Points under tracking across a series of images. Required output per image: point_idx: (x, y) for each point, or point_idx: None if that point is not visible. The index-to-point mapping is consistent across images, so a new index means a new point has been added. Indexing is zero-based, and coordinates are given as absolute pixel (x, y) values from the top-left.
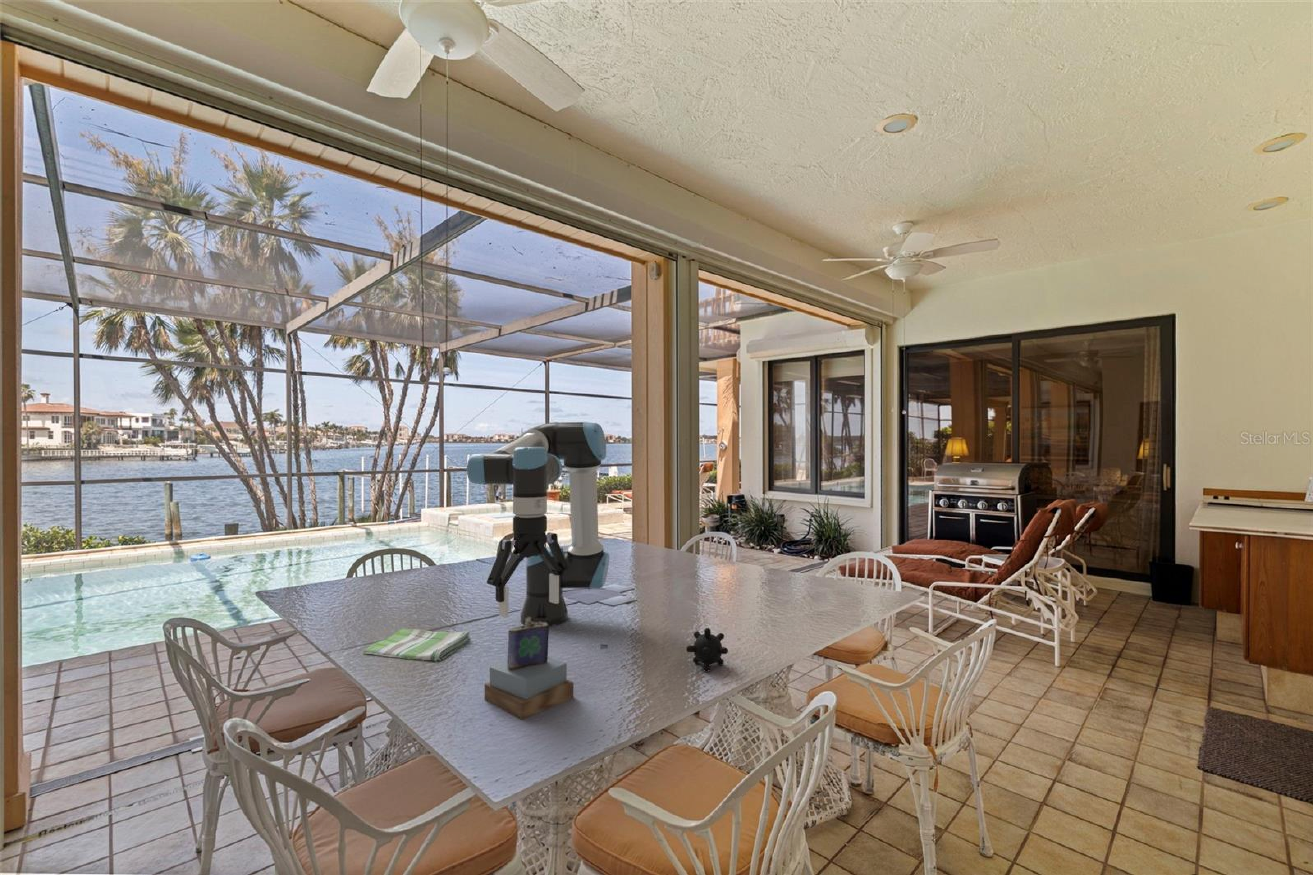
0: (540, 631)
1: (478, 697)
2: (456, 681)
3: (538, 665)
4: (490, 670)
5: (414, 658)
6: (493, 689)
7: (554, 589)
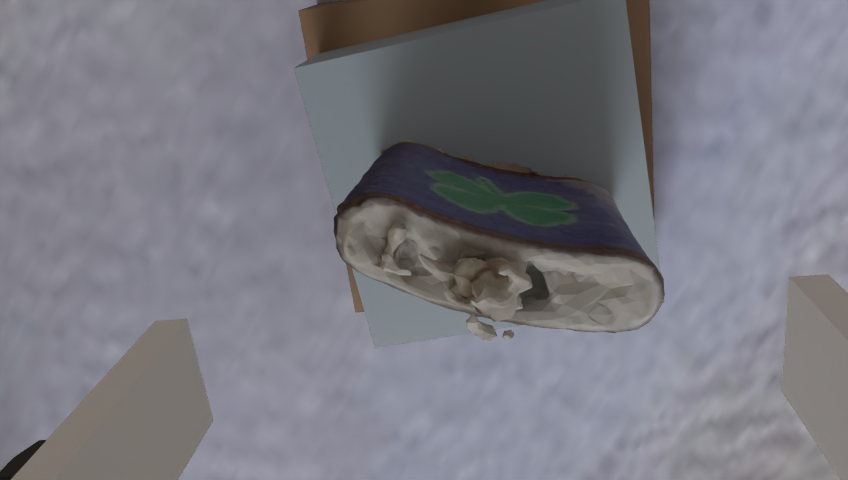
0: (420, 202)
1: None
2: (635, 477)
3: (445, 146)
4: None
5: None
6: (653, 214)
7: (128, 432)
